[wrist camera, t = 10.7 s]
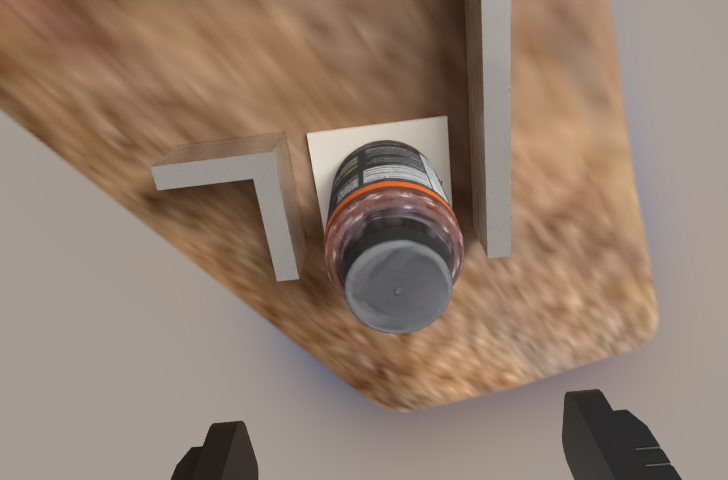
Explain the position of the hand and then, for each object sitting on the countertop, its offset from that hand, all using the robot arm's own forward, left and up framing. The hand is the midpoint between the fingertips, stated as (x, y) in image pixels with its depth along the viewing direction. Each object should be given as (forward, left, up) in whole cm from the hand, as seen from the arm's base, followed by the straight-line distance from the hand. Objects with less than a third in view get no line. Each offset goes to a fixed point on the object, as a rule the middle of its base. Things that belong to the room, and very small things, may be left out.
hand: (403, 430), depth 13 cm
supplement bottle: (0, 0, -18) cm, 18 cm away
